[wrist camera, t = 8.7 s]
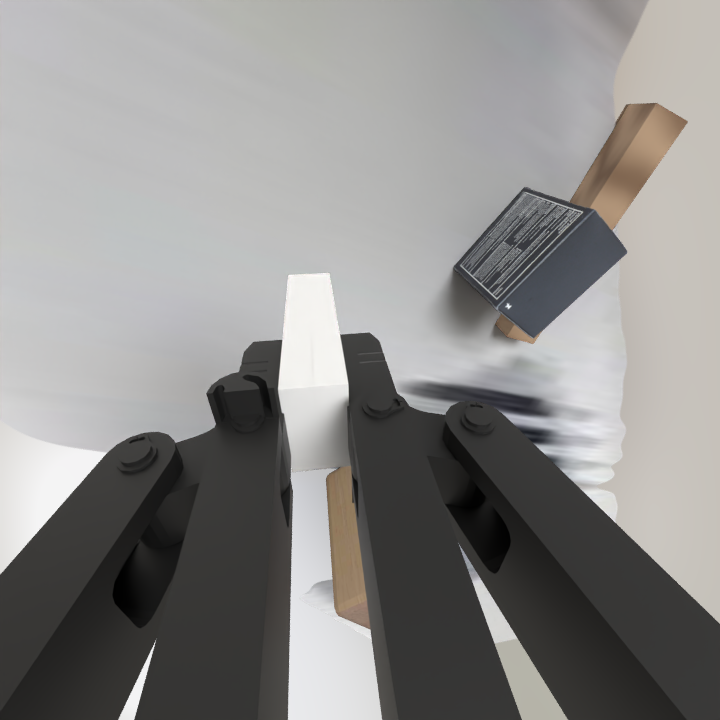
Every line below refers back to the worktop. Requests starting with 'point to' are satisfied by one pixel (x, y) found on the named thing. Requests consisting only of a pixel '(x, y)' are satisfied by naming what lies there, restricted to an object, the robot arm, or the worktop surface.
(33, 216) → the worktop surface
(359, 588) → the wooden block
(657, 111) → the long brown wooden bar
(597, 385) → the worktop surface
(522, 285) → the small box
